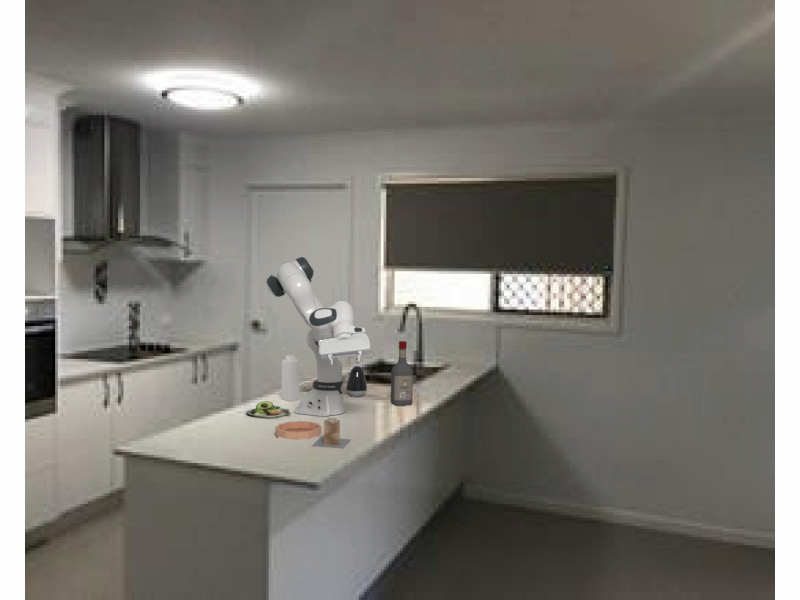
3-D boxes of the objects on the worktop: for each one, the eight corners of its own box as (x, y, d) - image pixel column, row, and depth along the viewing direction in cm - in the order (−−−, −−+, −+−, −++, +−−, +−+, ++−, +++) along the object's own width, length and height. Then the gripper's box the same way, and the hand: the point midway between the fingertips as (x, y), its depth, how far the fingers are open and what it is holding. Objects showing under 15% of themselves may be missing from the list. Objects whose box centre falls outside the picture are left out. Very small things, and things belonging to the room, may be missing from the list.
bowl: (269, 440, 248) (269, 430, 248) (284, 428, 265) (284, 420, 265) (313, 443, 246) (313, 433, 245) (325, 431, 262) (325, 422, 262)
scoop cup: (324, 445, 240) (324, 420, 239) (324, 440, 245) (324, 416, 245) (339, 444, 240) (339, 419, 240) (339, 440, 246) (339, 416, 245)
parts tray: (311, 448, 238) (311, 446, 238) (320, 440, 250) (320, 437, 250) (343, 451, 236) (343, 448, 236) (351, 442, 248) (351, 439, 248)
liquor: (413, 405, 312) (415, 342, 310) (395, 406, 309) (396, 343, 307) (407, 401, 320) (408, 340, 318) (389, 402, 318) (390, 340, 316)
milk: (298, 399, 320) (299, 354, 318) (289, 401, 315) (290, 355, 314) (290, 397, 324) (291, 353, 322) (281, 399, 319) (281, 354, 318)
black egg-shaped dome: (343, 397, 327) (344, 367, 326) (350, 393, 337) (350, 363, 336) (363, 398, 324) (363, 368, 323) (369, 394, 334) (369, 365, 333)
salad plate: (301, 413, 292) (302, 403, 292) (275, 422, 277) (276, 411, 276) (267, 408, 302) (267, 398, 301) (240, 416, 286) (240, 405, 286)
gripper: (317, 333, 259) (317, 362, 250) (368, 327, 259) (371, 355, 250) (319, 343, 264) (320, 371, 254) (370, 337, 264) (372, 365, 255)
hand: (345, 363), depth 252 cm, fingers open, 8 cm apart
